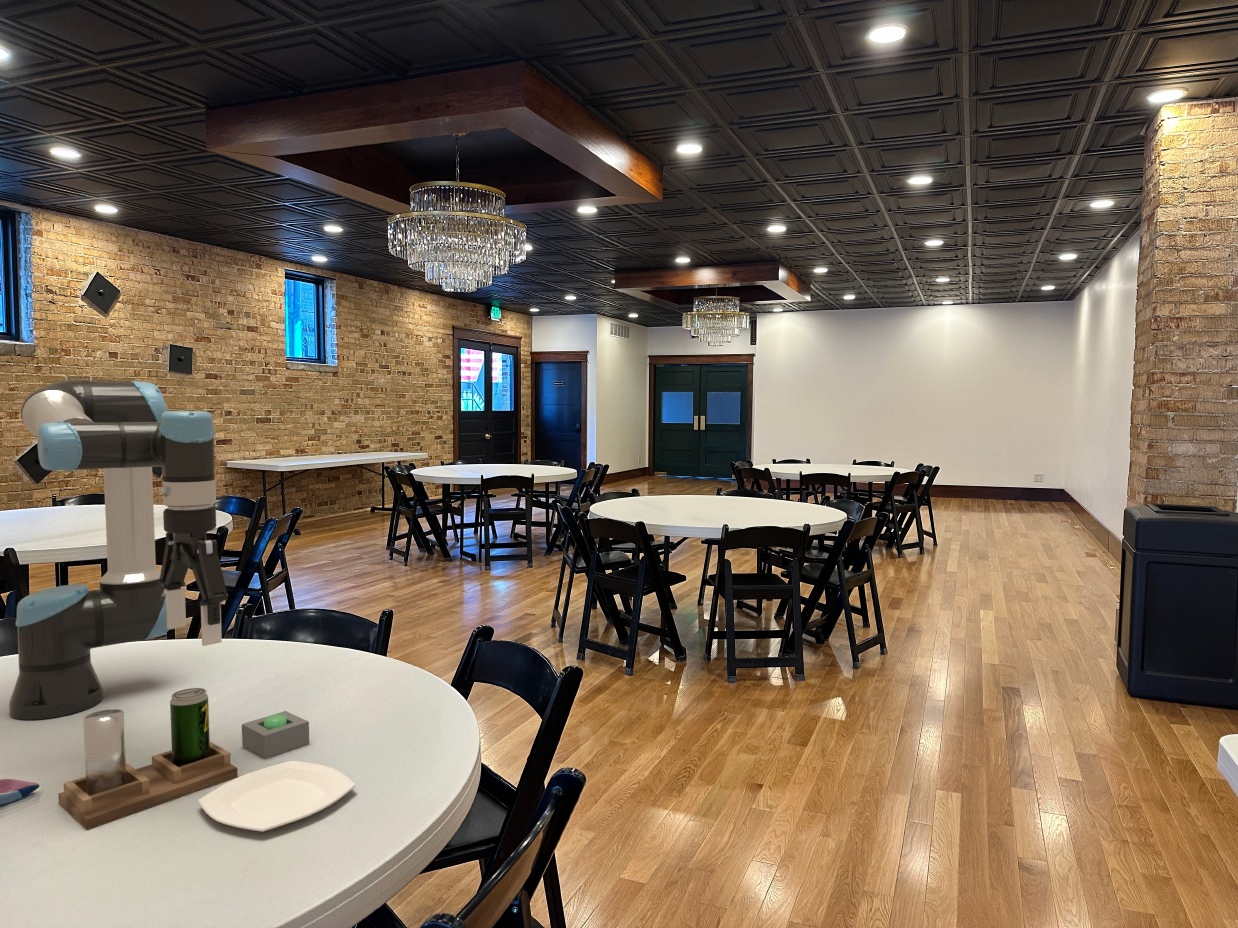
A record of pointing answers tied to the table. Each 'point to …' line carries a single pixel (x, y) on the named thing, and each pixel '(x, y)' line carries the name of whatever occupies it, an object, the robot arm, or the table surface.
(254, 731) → the grey square socket block
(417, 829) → the table surface
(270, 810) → the plate
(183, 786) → the wooden tray
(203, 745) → the green drink can
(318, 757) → the table surface
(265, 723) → the button
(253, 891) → the table surface
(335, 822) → the table surface
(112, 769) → the cylinder
